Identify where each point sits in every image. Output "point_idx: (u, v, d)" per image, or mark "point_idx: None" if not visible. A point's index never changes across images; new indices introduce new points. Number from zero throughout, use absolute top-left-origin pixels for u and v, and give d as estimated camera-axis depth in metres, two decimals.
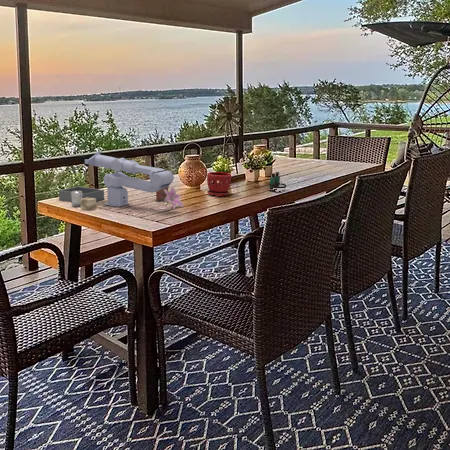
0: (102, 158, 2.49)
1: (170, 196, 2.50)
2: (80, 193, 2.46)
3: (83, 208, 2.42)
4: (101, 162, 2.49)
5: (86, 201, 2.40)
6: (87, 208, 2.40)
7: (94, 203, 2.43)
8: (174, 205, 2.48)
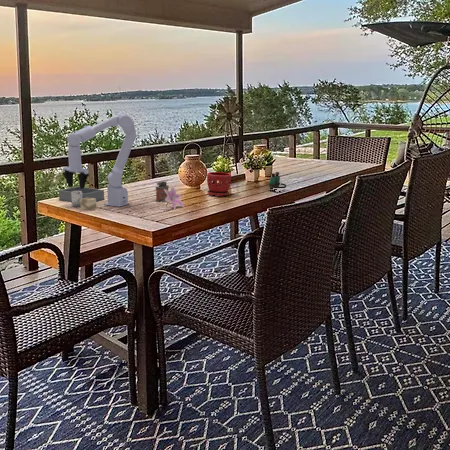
0: (70, 159, 2.41)
1: (170, 196, 2.50)
2: (80, 193, 2.46)
3: (83, 208, 2.42)
4: (74, 159, 2.41)
5: (86, 201, 2.40)
6: (87, 208, 2.40)
7: (94, 203, 2.43)
8: (174, 205, 2.48)
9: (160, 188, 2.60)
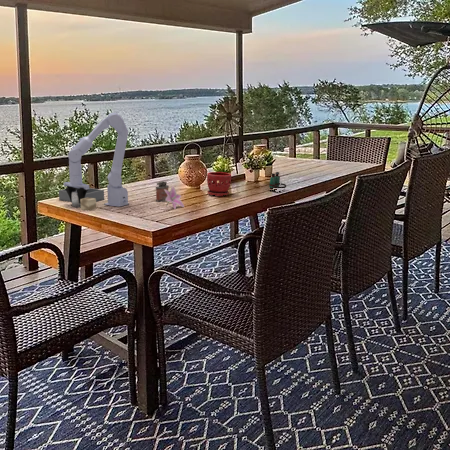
0: (71, 175, 2.43)
1: (171, 196, 2.50)
2: None
3: (83, 208, 2.42)
4: (75, 175, 2.43)
5: (86, 201, 2.40)
6: (87, 208, 2.40)
7: (94, 203, 2.43)
8: (175, 205, 2.48)
9: (160, 188, 2.60)
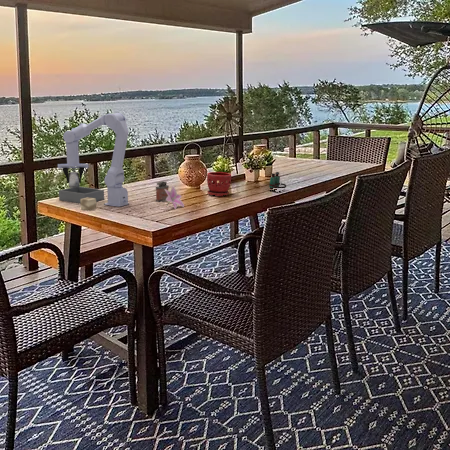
0: None
1: (171, 196, 2.50)
2: (78, 174, 2.56)
3: (83, 208, 2.41)
4: (69, 155, 2.51)
5: (86, 201, 2.40)
6: (87, 208, 2.40)
7: (94, 203, 2.43)
8: (175, 205, 2.48)
9: (160, 188, 2.60)
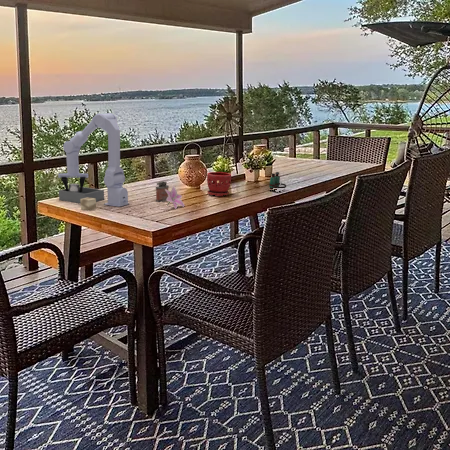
0: (67, 165, 2.58)
1: (171, 196, 2.50)
2: None
3: (83, 208, 2.41)
4: (69, 165, 2.57)
5: (86, 201, 2.40)
6: (87, 208, 2.40)
7: (94, 203, 2.43)
8: (175, 205, 2.48)
9: (160, 188, 2.60)
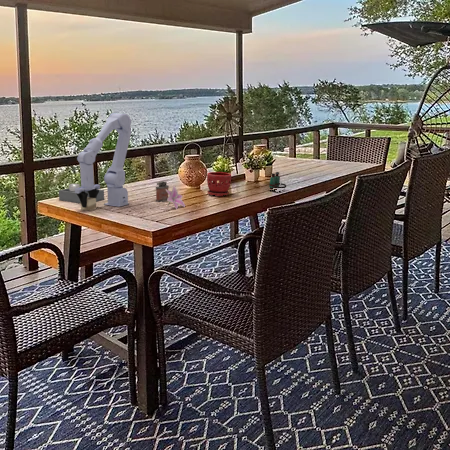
0: (86, 177, 2.37)
1: (172, 196, 2.50)
2: None
3: (83, 208, 2.41)
4: (90, 177, 2.38)
5: None
6: (87, 208, 2.40)
7: (94, 203, 2.43)
8: (176, 205, 2.48)
9: (160, 188, 2.60)
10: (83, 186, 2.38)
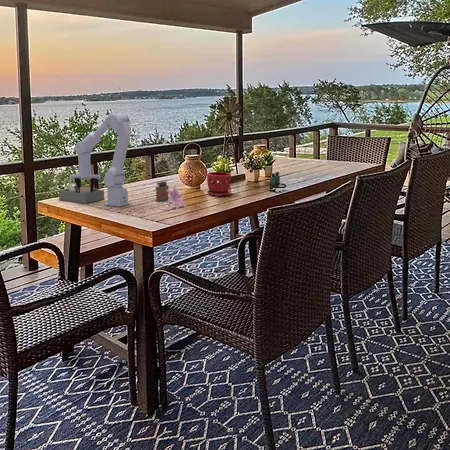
0: None
1: (173, 196, 2.50)
2: None
3: None
4: (81, 166, 2.54)
5: (80, 188, 2.57)
6: None
7: (88, 191, 2.57)
8: (177, 205, 2.48)
9: (160, 188, 2.60)
10: (79, 174, 2.57)
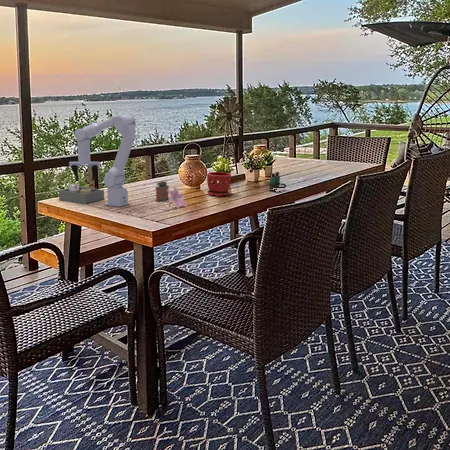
0: (78, 152, 2.53)
1: (173, 196, 2.50)
2: (78, 186, 2.61)
3: None
4: (80, 153, 2.52)
5: (80, 191, 2.58)
6: None
7: None
8: (178, 205, 2.48)
9: (160, 188, 2.60)
10: (78, 160, 2.55)
